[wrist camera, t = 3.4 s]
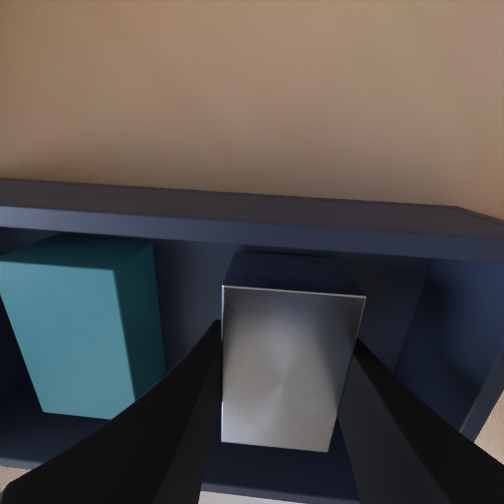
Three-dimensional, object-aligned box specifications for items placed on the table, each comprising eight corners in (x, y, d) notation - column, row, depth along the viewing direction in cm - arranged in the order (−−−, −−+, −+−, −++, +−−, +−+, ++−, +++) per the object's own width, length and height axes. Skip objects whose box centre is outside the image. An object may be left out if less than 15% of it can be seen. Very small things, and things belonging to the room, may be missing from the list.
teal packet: (87, 361, 13) (42, 412, 11) (56, 233, 11) (-14, 260, 8) (165, 369, 13) (139, 423, 10) (153, 240, 11) (114, 270, 8)
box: (35, 376, 15) (-54, 460, 11) (-37, 175, 11) (-223, 190, 7) (385, 413, 14) (431, 520, 10) (457, 206, 10) (588, 244, 6)
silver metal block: (230, 382, 13) (220, 442, 10) (233, 250, 10) (221, 285, 7) (316, 390, 12) (328, 453, 10) (341, 257, 10) (368, 296, 7)
